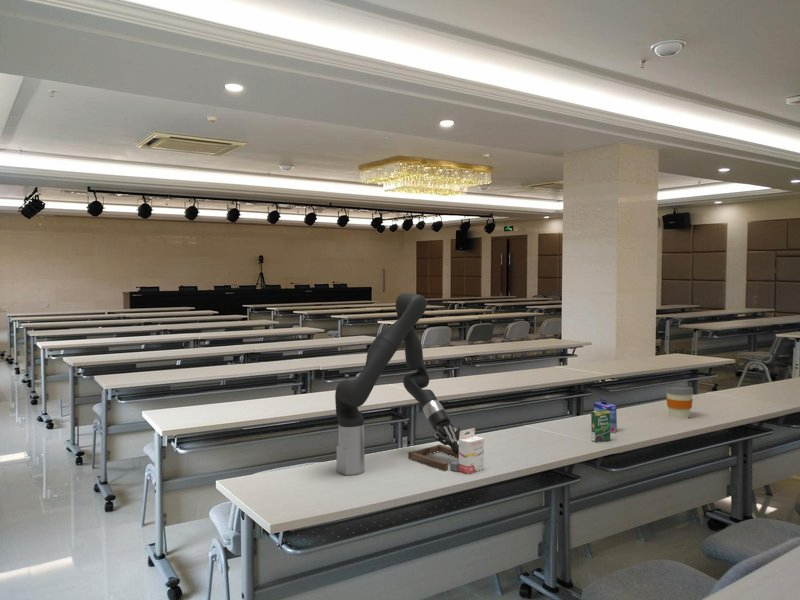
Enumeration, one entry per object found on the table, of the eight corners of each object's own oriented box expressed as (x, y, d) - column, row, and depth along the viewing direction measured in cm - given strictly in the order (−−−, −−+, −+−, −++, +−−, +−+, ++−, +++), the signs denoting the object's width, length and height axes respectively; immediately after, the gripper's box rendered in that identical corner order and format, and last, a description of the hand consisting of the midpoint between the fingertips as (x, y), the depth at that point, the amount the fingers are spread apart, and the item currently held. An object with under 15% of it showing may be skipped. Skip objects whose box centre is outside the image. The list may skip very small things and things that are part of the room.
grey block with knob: (456, 471, 217) (455, 444, 217) (449, 468, 220) (449, 442, 220) (478, 464, 225) (478, 438, 225) (471, 462, 228) (471, 436, 227)
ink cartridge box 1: (468, 474, 214) (467, 433, 214) (458, 471, 218) (458, 431, 218) (484, 469, 220) (484, 429, 219) (474, 466, 224) (474, 427, 223)
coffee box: (594, 442, 255) (594, 412, 254) (590, 441, 257) (590, 410, 257) (610, 441, 257) (611, 410, 257) (606, 439, 260) (606, 409, 259)
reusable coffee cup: (698, 419, 294) (698, 389, 294) (672, 420, 294) (672, 389, 294) (685, 414, 307) (685, 384, 306) (661, 414, 307) (661, 385, 306)
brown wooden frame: (444, 471, 219) (444, 464, 219) (408, 458, 234) (408, 452, 234) (476, 461, 230) (476, 455, 229) (440, 450, 245) (440, 444, 245)
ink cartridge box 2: (593, 428, 279) (593, 397, 279) (602, 427, 281) (602, 396, 281) (607, 433, 270) (607, 401, 270) (617, 432, 272) (617, 400, 272)
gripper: (427, 411, 227) (450, 450, 218) (452, 406, 236) (475, 443, 227) (418, 422, 231) (440, 461, 222) (443, 417, 240) (465, 454, 231)
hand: (458, 452), depth 225 cm, fingers closed
